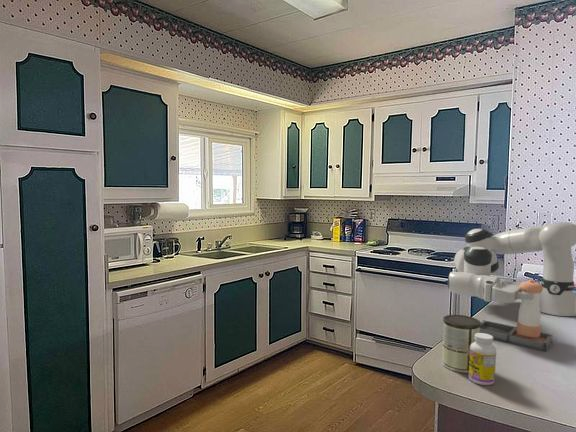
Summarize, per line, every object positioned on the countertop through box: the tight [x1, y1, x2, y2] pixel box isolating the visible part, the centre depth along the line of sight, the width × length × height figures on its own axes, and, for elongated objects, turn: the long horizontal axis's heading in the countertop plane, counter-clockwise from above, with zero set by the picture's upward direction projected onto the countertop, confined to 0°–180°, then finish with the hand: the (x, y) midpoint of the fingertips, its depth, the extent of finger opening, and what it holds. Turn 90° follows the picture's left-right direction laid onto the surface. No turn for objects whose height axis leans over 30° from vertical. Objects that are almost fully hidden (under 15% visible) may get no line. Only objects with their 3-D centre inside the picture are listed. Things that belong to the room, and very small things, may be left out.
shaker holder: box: [480, 319, 554, 352], centre depth 153 cm, size 12×23×2 cm, turn 50°
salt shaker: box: [516, 279, 543, 337], centre depth 149 cm, size 7×7×19 cm
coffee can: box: [441, 314, 482, 374], centre depth 128 cm, size 10×10×14 cm
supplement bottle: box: [467, 333, 497, 386], centre depth 118 cm, size 7×7×13 cm
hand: (535, 295), depth 148 cm, fingers closed on salt shaker, 5 cm apart
